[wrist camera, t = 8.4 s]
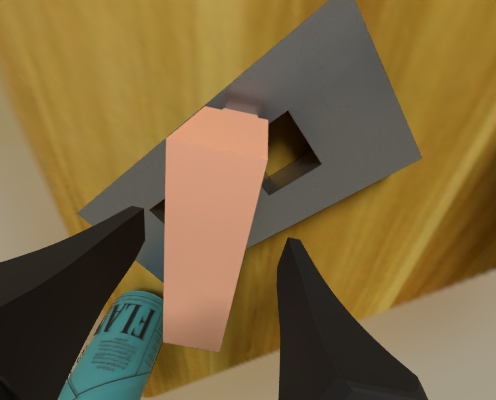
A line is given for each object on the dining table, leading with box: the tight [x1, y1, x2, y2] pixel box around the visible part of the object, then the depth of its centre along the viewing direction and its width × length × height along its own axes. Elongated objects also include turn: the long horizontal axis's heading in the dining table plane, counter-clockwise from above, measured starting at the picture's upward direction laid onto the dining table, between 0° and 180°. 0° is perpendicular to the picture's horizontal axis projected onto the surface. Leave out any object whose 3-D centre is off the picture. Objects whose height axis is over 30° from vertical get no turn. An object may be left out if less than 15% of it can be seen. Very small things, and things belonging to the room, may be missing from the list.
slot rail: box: [77, 0, 422, 283], centre depth 18 cm, size 10×22×3 cm, turn 127°
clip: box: [163, 106, 268, 352], centre depth 13 cm, size 3×11×8 cm, turn 169°
